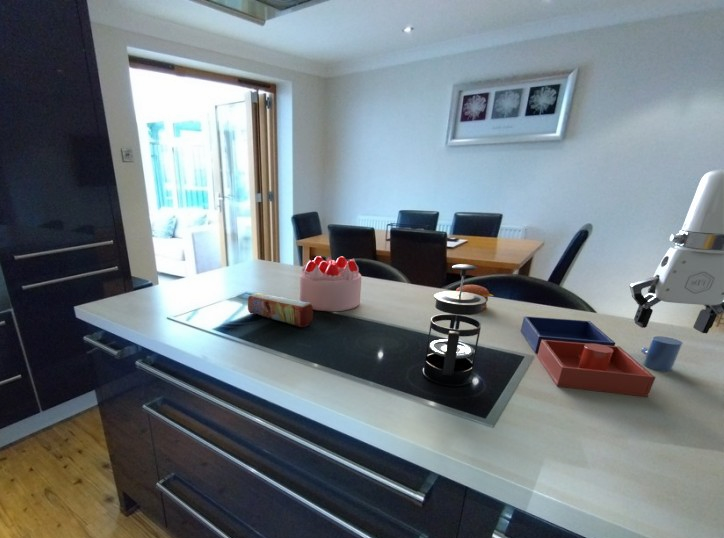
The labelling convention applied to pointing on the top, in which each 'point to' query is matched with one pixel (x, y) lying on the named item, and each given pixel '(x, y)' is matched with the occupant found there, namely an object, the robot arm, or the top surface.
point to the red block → (595, 357)
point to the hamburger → (476, 292)
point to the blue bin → (562, 331)
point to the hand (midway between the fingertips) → (669, 328)
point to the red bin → (618, 378)
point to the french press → (453, 336)
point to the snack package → (281, 309)
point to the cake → (330, 284)
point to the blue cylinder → (661, 353)
